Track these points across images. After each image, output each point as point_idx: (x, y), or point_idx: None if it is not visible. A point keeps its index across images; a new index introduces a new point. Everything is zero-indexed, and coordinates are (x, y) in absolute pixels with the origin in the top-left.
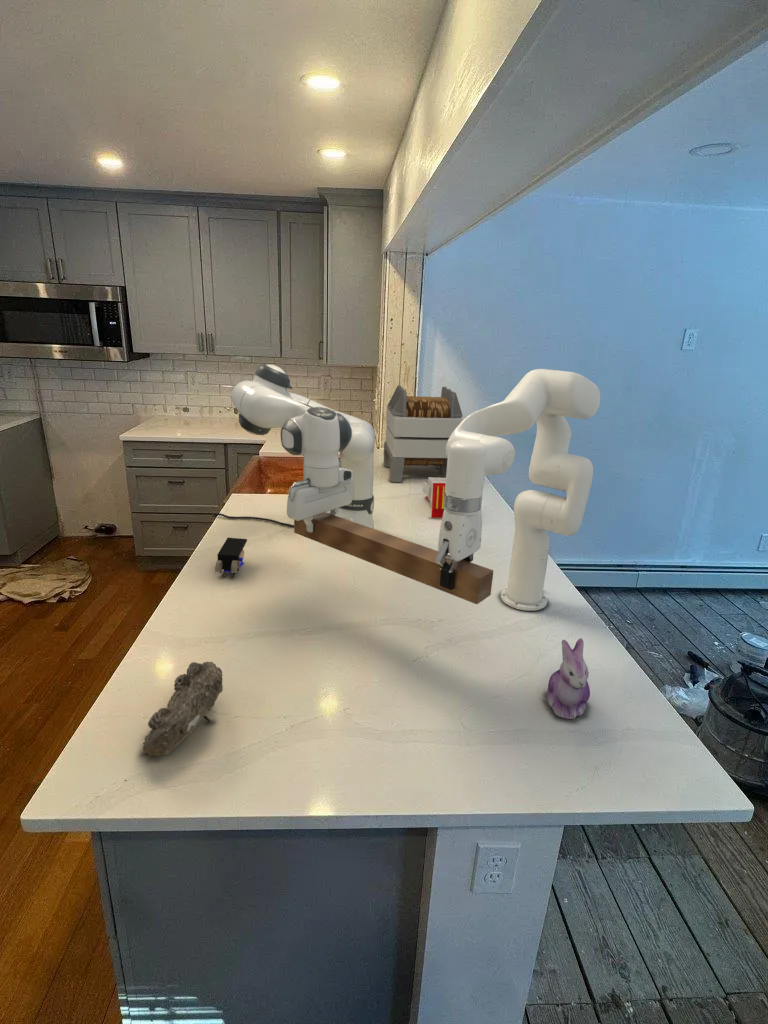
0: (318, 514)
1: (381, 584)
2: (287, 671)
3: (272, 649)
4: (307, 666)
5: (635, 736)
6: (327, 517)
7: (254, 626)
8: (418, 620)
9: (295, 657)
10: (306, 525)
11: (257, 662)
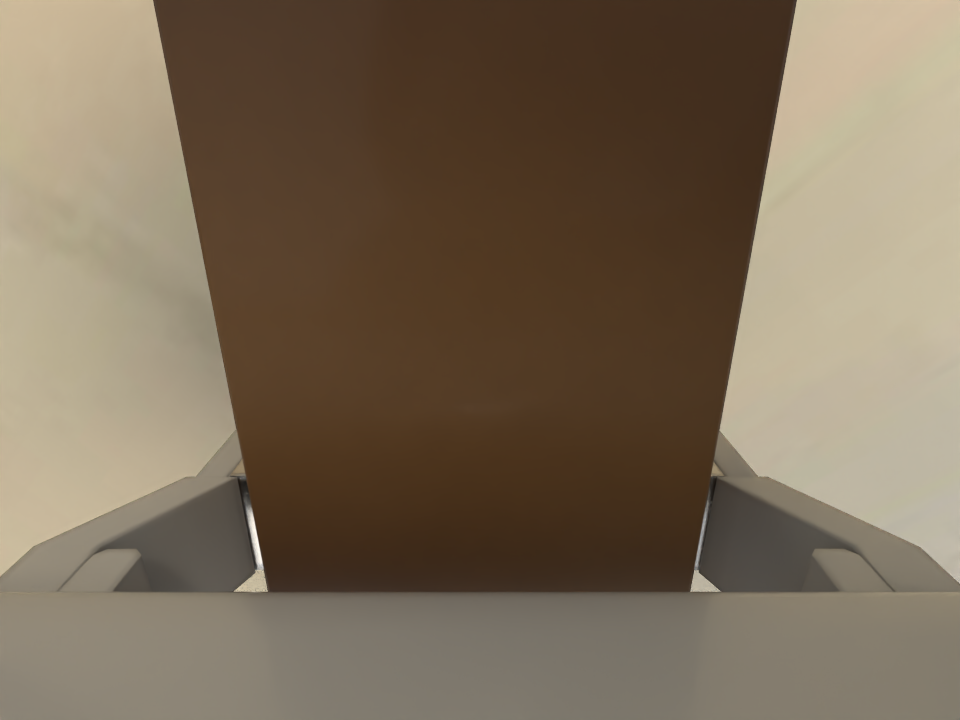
0: (502, 515)
1: (819, 326)
2: (90, 492)
3: (104, 370)
4: None
5: None
6: None
7: (117, 181)
8: None
9: (151, 458)
10: (203, 468)
11: (21, 392)
